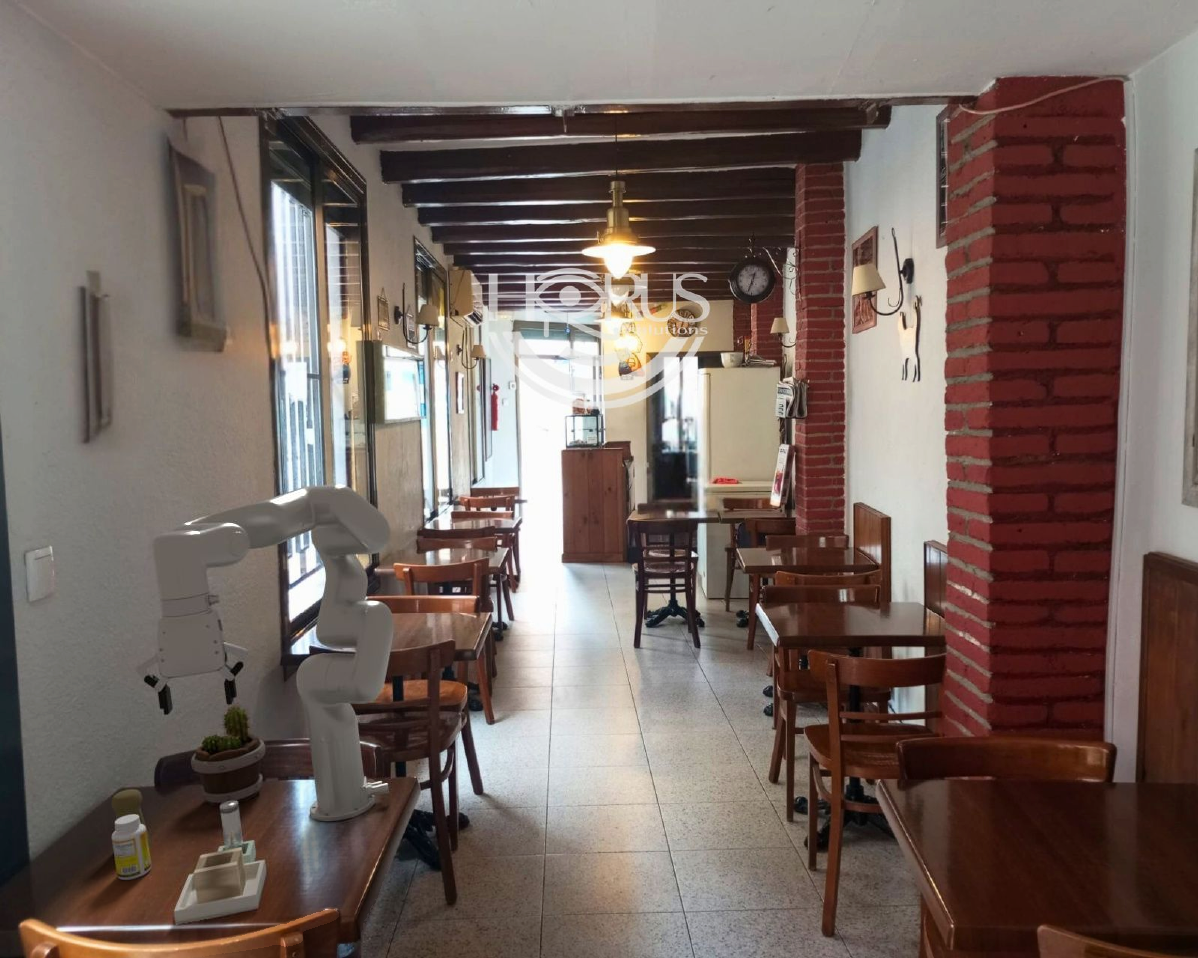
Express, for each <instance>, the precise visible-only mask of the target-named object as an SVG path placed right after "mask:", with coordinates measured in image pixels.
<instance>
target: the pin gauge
mask: <svg viewBox="0 0 1198 958" xmlns="http://www.w3.org/2000/svg"><path fill="white" fill-rule="evenodd" d="M219 811H220V818H221V826H222V833H223V841H224V846H225V850H229V849H234V848H240V847H242V851H243V854H244V846H243V842H244V840H243V831H242V825H241V817H240V805H239V804H238V801H234V800H233V801H227V802H224V803H222V804H221V805H220V806H219Z"/></svg>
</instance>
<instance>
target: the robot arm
mask: <svg viewBox="0 0 1198 958" xmlns="http://www.w3.org/2000/svg"><path fill="white" fill-rule="evenodd" d="M308 532H310V536H311V537H310V538H311V542H312V545H313V546H314V548H315V551H317V554H318V556H319V557H320V558H319V559H320V560H321V562H322V564H323V567H324V571H325V583H324V588H323V593H322V598H321V602H320V606H319V607H320V608H319V611H318V616H317V620H316V627H315V636H316V639H317V641H318V642H319V644H321V645H322V646H323V647H327V648H333V649H355V653H341V652H340V653H337V652H335V653H334V652H331V653H330V652H329V653H328V652H327V653H317V654H313V655H310V656H309V657H307V658H305V659H304V660H303V661H302V662H301V663H300V665H299V667H298V669H297V672H296V687H297V692H298V695H299V697H300V699H301V703H302V706H303V709H304V712H305V719H306V724H307V732H308V739H309V740H308V741H309V747H310V755H311V764H312V772H313V778H314V789H315V794H316V795H315V796H316V800H315V801H314V802H313V803H312V804H311V806H310V808H309V813H310V817H311V818H312V819H315V820H317V821H321V822H337V821H343V820H348V819H350V818H354V817H357V816H360V815H361V814H363V813H365V812H367V811H368V810H369V809H371V808H372V807H373V805H375V802H376V801H375V796H376V795H384V794H389V792H390V791H389V784H388V783H383V781H382V780H380V781H375V782H371V781H369V782H368V779H367V776H365V775H364V767H363V760H362V759H363V758H362V749H361V741H360V734H359V724H358V723H359V722H358V718H357V715H356V712H355V710H354V708H353V706H352V704H369V703H371V702H373V701H375V700H376V699H377V698H378V697H379V695H380V694H381V693H382V690H383V688H384V685H385V681H386V676H387V670H388V667H389V661H390V655H391V650H392V645H393V640H394V639H393V638H394V631H395V621H394V616H393V612H392V611H391V609H390V608H389V607H388V605H387V604H385V603H383V602H382V601H377V600H366V599H367V598H366V597H367V591H368V585H369V584H368V583H369V581H368V575H367V572H366V570H365V568H364V566H363V564H362V563H361V561H360V560H359V558H358V556H357V555H373V554H378V553H381V552H382V551H383V550H385V549H386V548H387V547H388V546H389V543H390V541H391V537H392V535H391V534H392V533H391V526H390V523H389V521H388V520H387V518H386V517H385V515H384V514H383V513H382V511H380V510H379V509H378V508H376V507H375V505H373V504H372V503H370V501H368V500H367V499H366V498H365V497H364V496H362V495H361V494H359V493H358V492H357V491H355V490H354V489H353V488H351V487H349V486H346V485H344V484H324V485H323V484H322V485H311V486H304V487H299V488H296V489H294V490H291V491H288V492H285V493H282V494H279V495H277V496H274V497H271V498H268V499H265V500H262V501H259V502H255V503H251V504H246V505H242V506H239V507H235V508H232V509H227V510H224V511H220V512H216V513H212V514H208V515H205V516H202V517H199V518H196V519H192V520H190V521H187V522H185V523H181V524H179V525H177V526H176V527H175V528H174V529H172V530H171V531H169V532H165V533H160V534H158V535H156V536H155V537H154V538H153V540H152V553H153V560H154V561H153V563H154V568H155V575H156V582H157V583H156V584H157V591H158V598H159V604H160V612H161V616H159V617H158V619H157V628H156V632H157V633H156V643H157V644H156V645H157V647H156V648H157V649H156V651H157V653H155V654H153V655H152V656H150V657H149V658H146V660H145V661H142V662H141V663H140V664H138V665H137V666H136V668H135V670H136V673H138V675H139V676H140V677H141V678H142V680H143V682H144V683H145V684H146V685H148V686H150V687H151V688H153V689H154V691H155V692H157V698H158V703H159V709H160V710H163V715H164V716H166V715H170V713H171V712H172V710H173V709H174V708H173V700H172V694H171V687H170V686H169V685H168V682H169V681H170V680H171V679H176V678H182V677H190V676H196V675H203V674H208V673H209V674H210V673H211V674H212V673H214V672H215V673H216V672H218V673H219V674H220V675H221V676H222V677H224V678H225V679H224V682H223V687H224V693H225V702H226V705H227V706H232V705H233V703H234V701H235V698H237V695H238V691H237V687H236V686H237V685H236V684H237V683H236V678H235V677H237V675H239V673H240V672H241V670H242V669H243V668H244V666H245V663H246V661H247V660H248V659H247V658H248V655H249V654H250V650H249V649H247V648H245V647H242V646H240V645H239V646H238V645H237V644H236V645H235V644H232V643H229V642H226V637H225V632H224V628H223V624H222V620H221V616H220V613H219V612H218V609H217V608H212V607H213V605H216V604H219V603H220V602H221V597H220V594H216V595H215V594H212V593H211V591H210V587H209V581H208V573H207V571H208V570H209V569H214V568H216V569H217V568H225V567H227V568H228V567H233V566H235V565H237V564H238V563H240V562H242V560H244V559H245V558H246V556H247V555H248V553H249V551H250V550H252V549H253V550H254V549H256V550H257V549H262V548H263V549H264V548H268V547H273V546H276V545H279V544H282V543H284V542H287V541H289V540H291V539H294V538H296V537H298V536H301V535H303V534H306V533H308ZM228 654H230V655H231V654H232V655H235V656H236V657H237V661H236V663H235V664H234V666H230V664H228V663H227V662H228V661H229V655H228ZM156 664H158V671H159V675H160V676H161V677H160V678H159V677H158V676H156V675H154V674H153V673H152V672H151V671H150V668H151V667H152V666H154V665H156ZM231 704H232V705H231Z"/></svg>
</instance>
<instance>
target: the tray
mask: <svg viewBox="0 0 1198 958" xmlns="http://www.w3.org/2000/svg"><path fill="white" fill-rule="evenodd" d="M244 866H245V874H246V884H245V888H244V891H243V895H241V896H237V897H232V898H227V899H222V900H217V901H212V902H207V903H202V904H198V902H197V894H196V887H195V880H194V873H190V874H188V876H187V879H186V881H185V883H184V886H183V888H182V891H181V894H180V895H179V899H178V900H177V902H176V905H175V908H174V911H173V913H174V914H173V915H174V921H175V925H176V924H182V923H185V922H188V921H196V922H201V921H205V920H204V919H206V920H209V919H210V920H211V919H215V918H219V917H225V916H228V915H234V914H238V913H243V912H248V911H254V910H258V909H259V906H260V901H261V897H262V894H263V893H262V892H263V889H264V885H265V881H266V876H267V866H266V860H265V859H261V860H254V862H250V863H245V864H244ZM200 920H201V921H200ZM182 925H183V924H182Z"/></svg>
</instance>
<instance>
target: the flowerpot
mask: <svg viewBox="0 0 1198 958" xmlns="http://www.w3.org/2000/svg"><path fill="white" fill-rule="evenodd" d="M224 711H225V712H226V713H225V714H223V715H222V714H221V715H220V717H222V720H223V725H222V724H221V725H219V726H222V727H221V728H223V730H224V731H223V733H222V734H223V735H218V734H217V733H215V734H206V736H207V737H206V736H205V735H203V736H202V737H204V738H203V739H201V740H202V742H201V744H202V745H200V746H198V747H197V748H196V750H195V752H194V754H193V755H192V757H191V760H190V764H191V768H192V770H193V771H194V772H197V773H198V776H199V778H200V782H201V784H202V786H203V788H202V790H201V791H202V796H203V799H205V801H207V802H209V804H210V805H211V806H213V805H215V806H214V807H218V806H219V807H220V805H221V804H222V803H224V802H227V801H233V800H234V801H238V803H239V804H241V803H242V802H246V800H247V801H249V800H251V799H252V797H253V798H255V797H256V796H257V795H258V794H259V792H260V789H261V788H262V784H263V775H262V774H261V773H260V772H261V767H262V758H263V757H264V756H265V754H266V745H265V742H264V740H261V739H260V737H259V736H257V735H254V734H252V733H251V732H250V728H251V725H250V724H249V723H250V721H251V716H250V714H249V711H248V709H246V708H245V707H243V708H242V706H241V704H239V702H236V704H235V702H232V704H231V705H230V706H229V708H228V709H225V710H224ZM208 732H210V733H211V731H208ZM257 793H258V794H257ZM254 796H255V797H254ZM248 799H249V800H248Z"/></svg>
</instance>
